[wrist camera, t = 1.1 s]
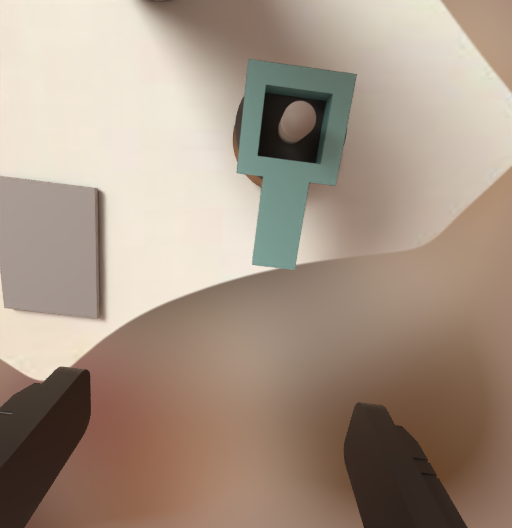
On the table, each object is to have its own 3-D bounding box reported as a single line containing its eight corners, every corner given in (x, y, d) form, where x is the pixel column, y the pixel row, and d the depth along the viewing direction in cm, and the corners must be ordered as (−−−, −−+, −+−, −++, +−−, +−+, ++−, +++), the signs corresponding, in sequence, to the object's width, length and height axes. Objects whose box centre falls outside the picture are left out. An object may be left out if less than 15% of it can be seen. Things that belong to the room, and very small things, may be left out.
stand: (239, 83, 29) (224, 9, 16) (336, 96, 29) (401, 35, 16) (229, 184, 31) (210, 192, 18) (319, 195, 31) (362, 211, 19)
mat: (-5, 175, 31) (-10, 175, 30) (97, 188, 31) (94, 188, 31) (8, 305, 35) (4, 308, 34) (99, 316, 35) (96, 318, 35)
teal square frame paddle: (249, 69, 20) (248, 59, 19) (347, 83, 21) (356, 74, 19) (229, 254, 24) (227, 261, 22) (314, 264, 24) (319, 272, 22)
